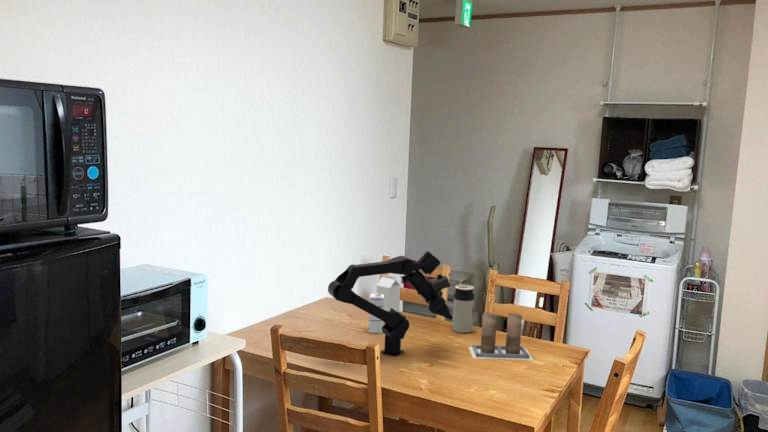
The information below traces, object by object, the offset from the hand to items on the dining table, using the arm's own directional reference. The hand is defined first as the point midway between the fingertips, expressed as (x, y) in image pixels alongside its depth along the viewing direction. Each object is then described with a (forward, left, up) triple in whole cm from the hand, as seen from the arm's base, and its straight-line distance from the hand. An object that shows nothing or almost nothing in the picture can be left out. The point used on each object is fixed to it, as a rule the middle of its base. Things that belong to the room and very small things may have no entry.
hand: (450, 315), depth 228 cm
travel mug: (+27, +6, -14) cm, 31 cm away
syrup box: (+6, +34, -14) cm, 37 cm away
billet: (+4, -13, -13) cm, 19 cm away
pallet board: (+6, -17, -14) cm, 23 cm away
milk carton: (+22, +38, -14) cm, 46 cm away
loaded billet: (+9, -21, -13) cm, 26 cm away
